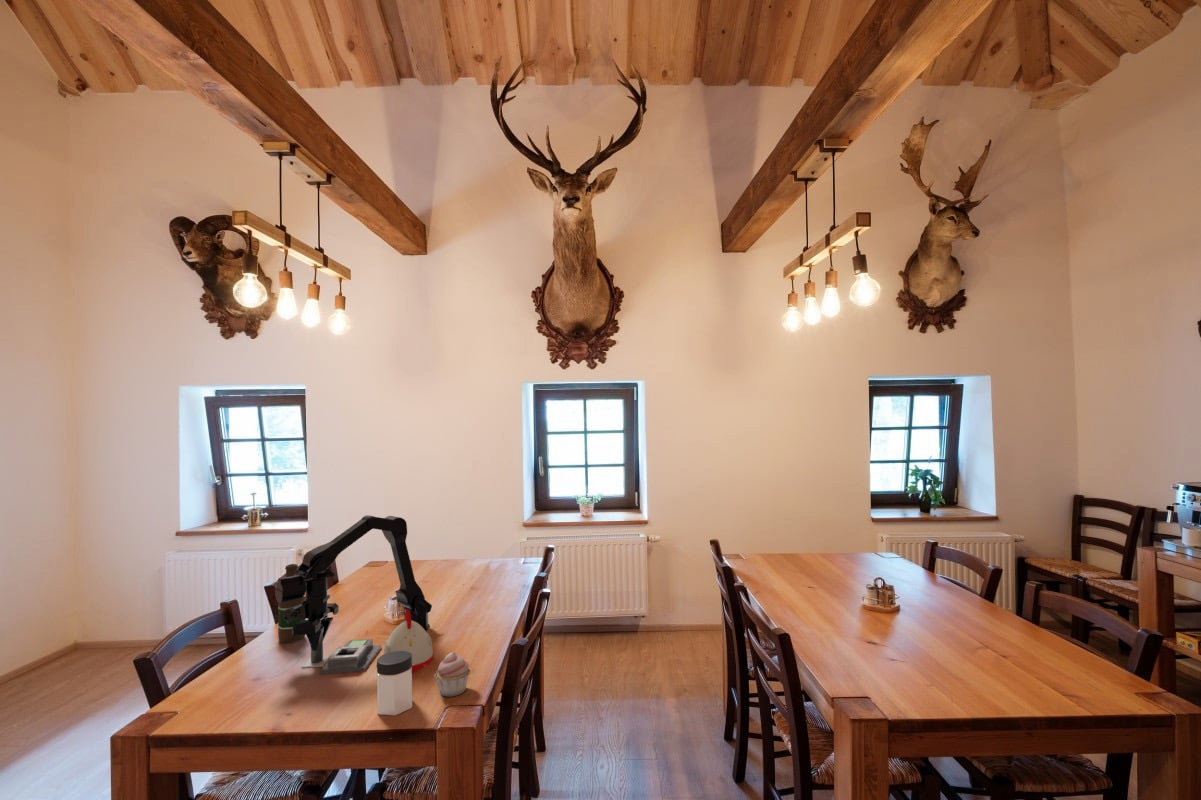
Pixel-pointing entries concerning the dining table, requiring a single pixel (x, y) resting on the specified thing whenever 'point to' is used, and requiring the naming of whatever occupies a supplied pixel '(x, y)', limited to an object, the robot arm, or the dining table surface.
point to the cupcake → (452, 675)
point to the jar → (394, 683)
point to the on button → (358, 643)
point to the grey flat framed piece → (351, 658)
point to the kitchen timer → (411, 642)
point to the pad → (315, 663)
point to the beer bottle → (283, 626)
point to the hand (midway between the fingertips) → (316, 647)
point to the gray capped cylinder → (318, 650)
